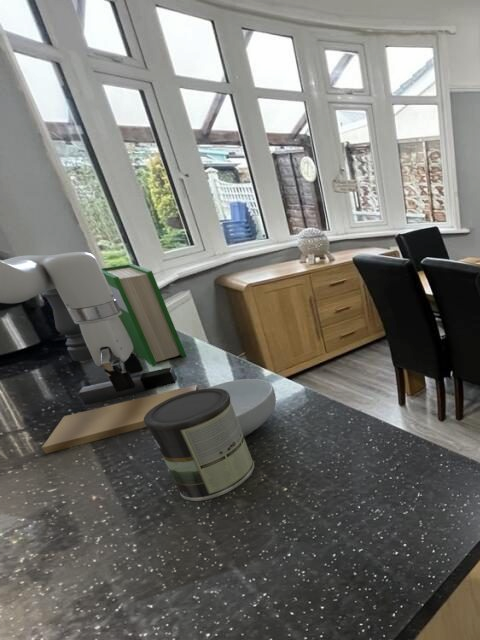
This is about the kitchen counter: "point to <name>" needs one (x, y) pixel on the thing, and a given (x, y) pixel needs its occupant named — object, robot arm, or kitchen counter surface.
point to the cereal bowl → (250, 401)
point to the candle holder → (67, 327)
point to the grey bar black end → (141, 384)
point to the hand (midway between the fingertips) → (130, 380)
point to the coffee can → (201, 443)
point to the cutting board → (105, 421)
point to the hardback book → (144, 313)
